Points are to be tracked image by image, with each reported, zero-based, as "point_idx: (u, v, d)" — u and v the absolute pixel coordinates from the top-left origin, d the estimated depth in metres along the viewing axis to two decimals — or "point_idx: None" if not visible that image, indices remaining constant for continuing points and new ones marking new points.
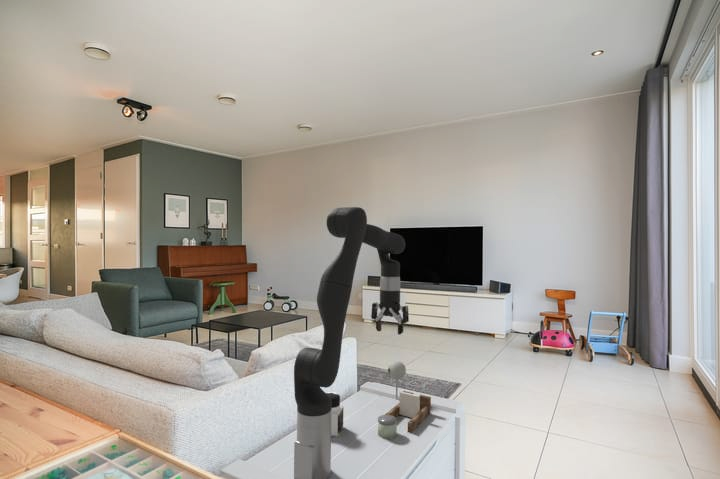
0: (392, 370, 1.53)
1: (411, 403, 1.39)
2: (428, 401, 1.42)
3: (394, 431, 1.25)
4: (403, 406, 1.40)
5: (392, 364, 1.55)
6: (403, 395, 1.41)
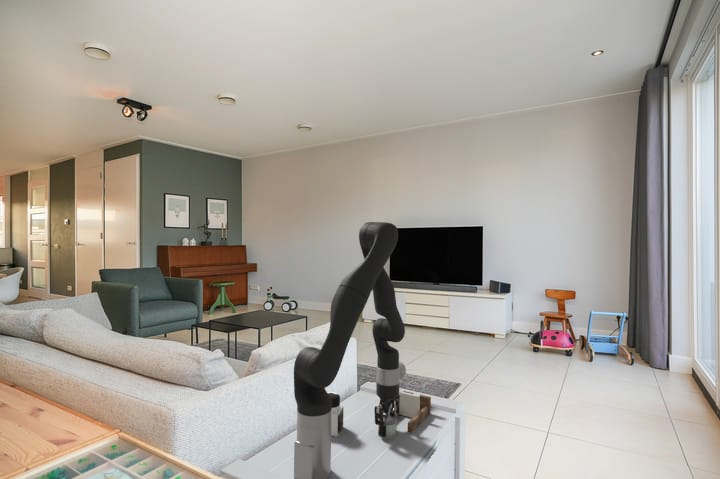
0: None
1: (411, 403, 1.39)
2: (428, 401, 1.42)
3: (394, 431, 1.25)
4: (403, 406, 1.40)
5: None
6: (403, 395, 1.41)
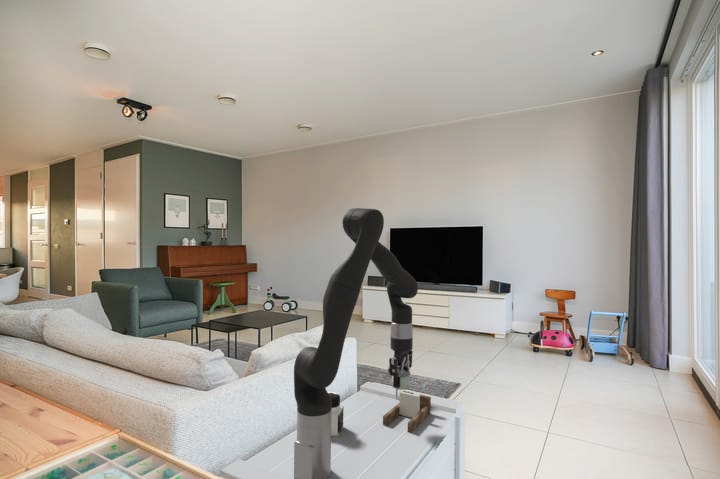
0: None
1: (411, 403, 1.39)
2: (428, 401, 1.42)
3: (408, 383, 1.31)
4: (403, 406, 1.40)
5: None
6: (403, 395, 1.41)
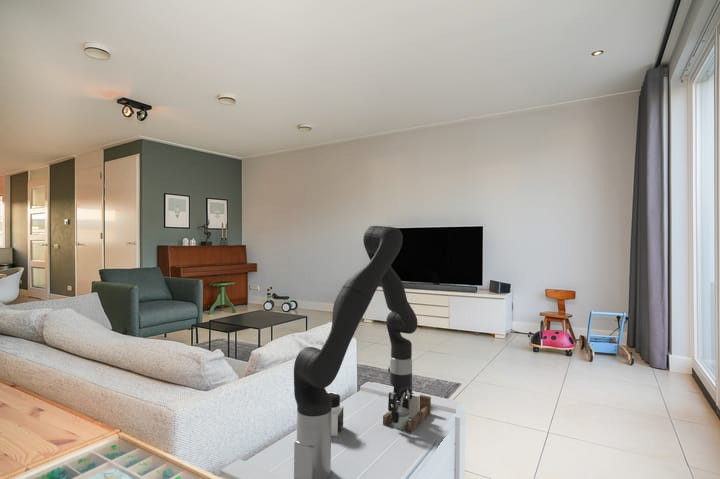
0: None
1: (411, 403, 1.39)
2: (428, 401, 1.42)
3: (407, 422, 1.31)
4: None
5: None
6: None
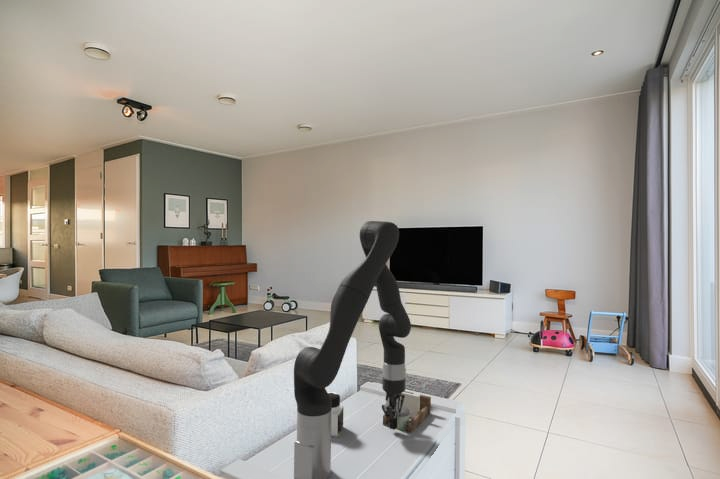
0: None
1: (411, 403, 1.39)
2: (428, 401, 1.42)
3: (407, 422, 1.31)
4: (403, 405, 1.40)
5: None
6: None
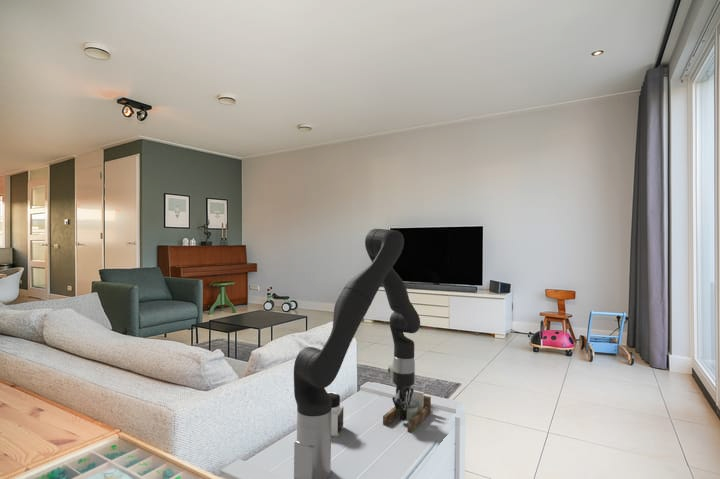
0: (392, 370, 1.53)
1: (415, 399, 1.42)
2: (428, 401, 1.42)
3: None
4: None
5: (392, 364, 1.55)
6: None
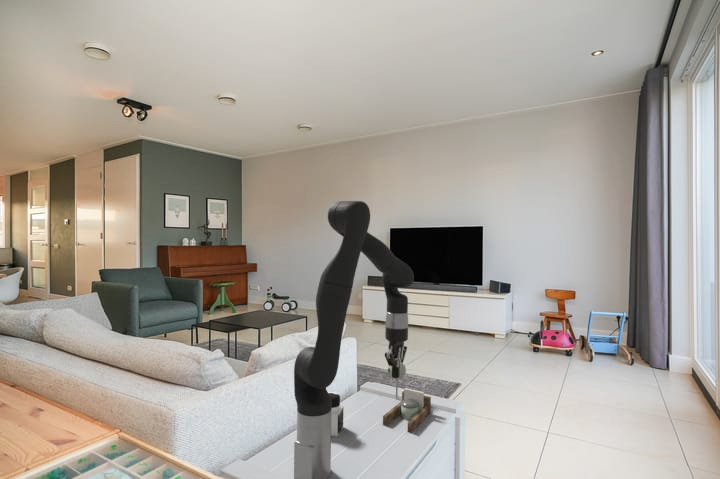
0: None
1: (415, 399, 1.42)
2: (428, 401, 1.42)
3: (416, 413, 1.38)
4: None
5: None
6: (407, 392, 1.44)
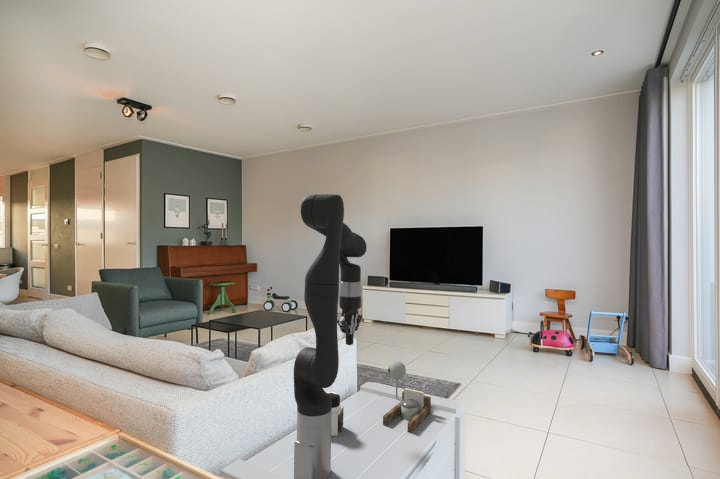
0: (392, 370, 1.53)
1: (415, 399, 1.42)
2: (428, 401, 1.42)
3: (416, 413, 1.38)
4: None
5: (392, 364, 1.55)
6: (407, 392, 1.44)
